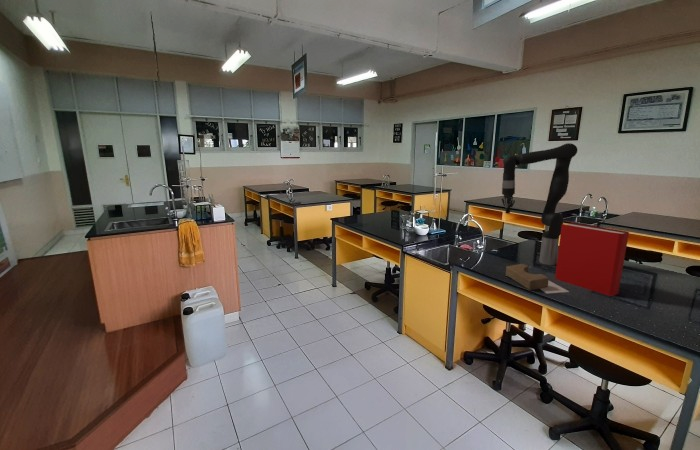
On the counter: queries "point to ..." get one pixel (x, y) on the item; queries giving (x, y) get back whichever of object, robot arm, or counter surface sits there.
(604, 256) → the book
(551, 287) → the mat
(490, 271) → the counter surface
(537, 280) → the decorative block
